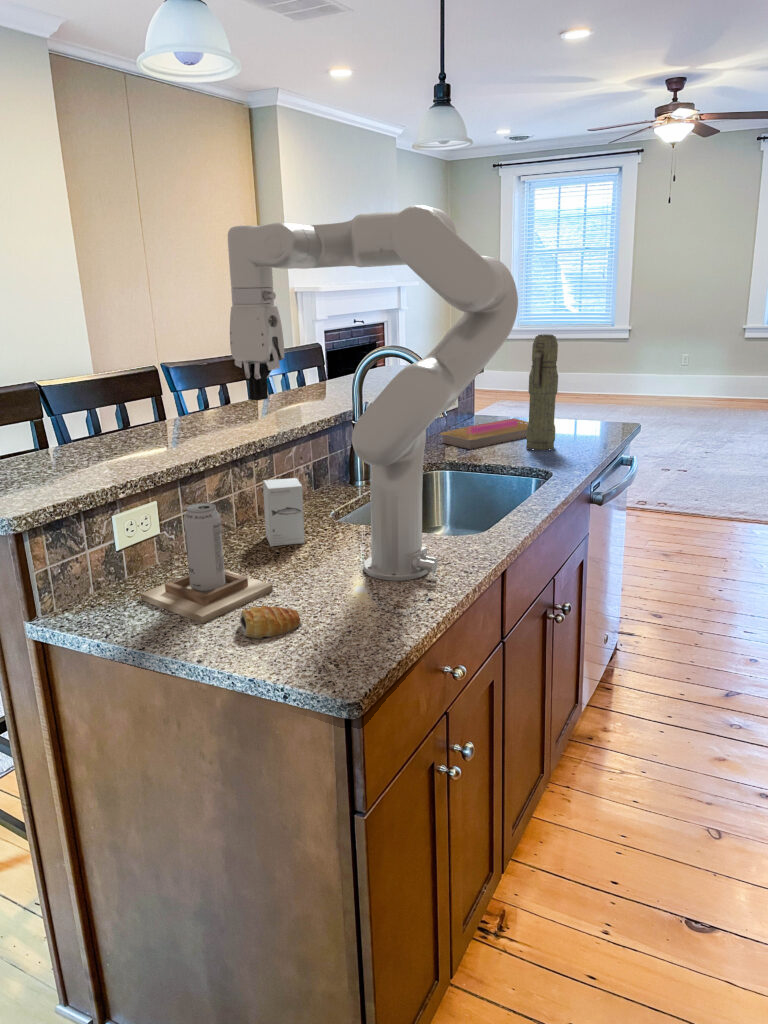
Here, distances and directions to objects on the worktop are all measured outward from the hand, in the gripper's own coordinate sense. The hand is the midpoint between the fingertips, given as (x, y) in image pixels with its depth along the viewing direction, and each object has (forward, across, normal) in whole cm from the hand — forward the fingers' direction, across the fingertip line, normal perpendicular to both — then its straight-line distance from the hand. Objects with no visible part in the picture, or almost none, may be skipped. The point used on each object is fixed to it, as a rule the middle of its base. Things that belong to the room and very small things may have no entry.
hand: (258, 399), depth 143 cm
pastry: (+32, -24, +24) cm, 46 cm away
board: (+31, -6, +21) cm, 38 cm away
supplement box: (+31, +3, -8) cm, 32 cm away
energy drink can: (+30, -6, +21) cm, 37 cm away
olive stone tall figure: (+31, -3, -118) cm, 122 cm away
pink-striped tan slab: (+32, +16, -122) cm, 127 cm away
